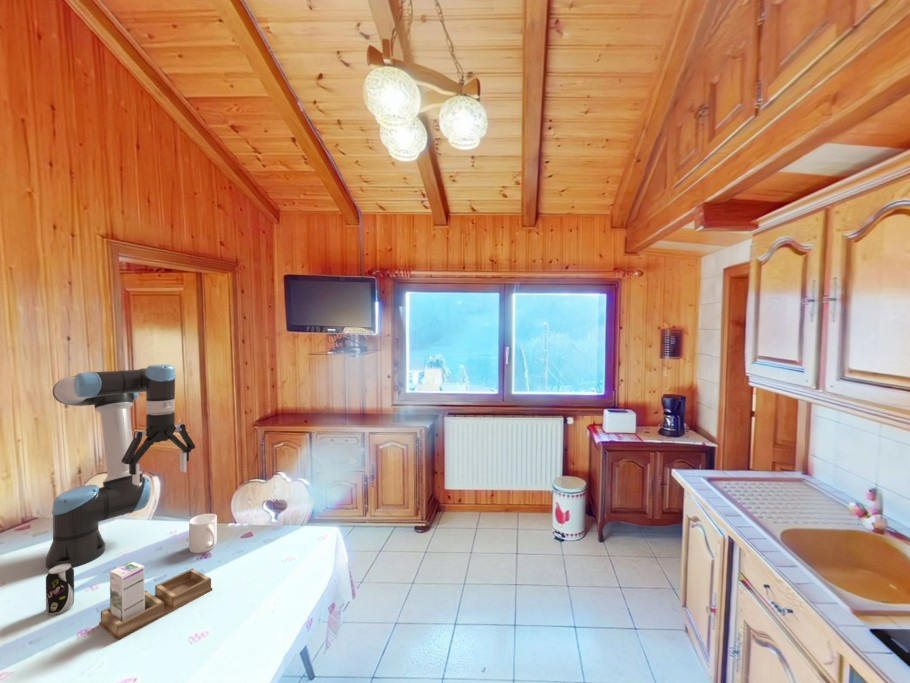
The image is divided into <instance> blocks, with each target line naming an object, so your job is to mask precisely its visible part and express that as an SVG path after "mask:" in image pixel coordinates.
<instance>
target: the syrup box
mask: <svg viewBox="0 0 910 683" xmlns="http://www.w3.org/2000/svg"><path fill="white" fill-rule="evenodd" d="M145 590H146V588H145V565H143V564H140V563H137V562H135V561H129V562H127V563H124V564H122V565H120V566H118V567H116V568H115V569H112V570H110V571H109V604H110V606H109V607H110V613H111V614H112V615H113V616H114V617H116V618H117V619H118V620H120V621H121V622H123V621H125V620H127V619H128V618H130V617H132V616H134V615H136V614H138V613H140V612H142V611H144V610H145Z"/></svg>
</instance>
